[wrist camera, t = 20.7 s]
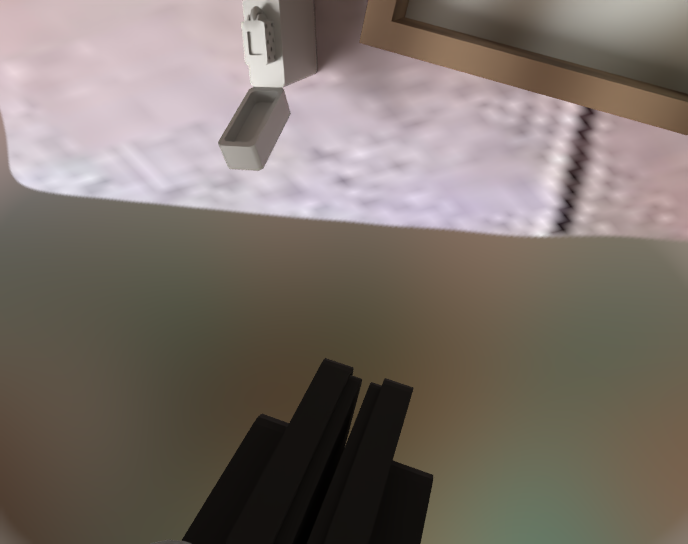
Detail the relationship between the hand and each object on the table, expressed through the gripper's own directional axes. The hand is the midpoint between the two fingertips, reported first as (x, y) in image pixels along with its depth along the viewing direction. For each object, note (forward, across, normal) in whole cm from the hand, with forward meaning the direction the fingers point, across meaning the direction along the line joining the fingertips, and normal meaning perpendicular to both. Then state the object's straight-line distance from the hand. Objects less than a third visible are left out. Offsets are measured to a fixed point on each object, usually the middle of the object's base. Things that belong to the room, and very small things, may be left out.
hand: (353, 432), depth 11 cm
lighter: (+22, +9, -1) cm, 24 cm away
